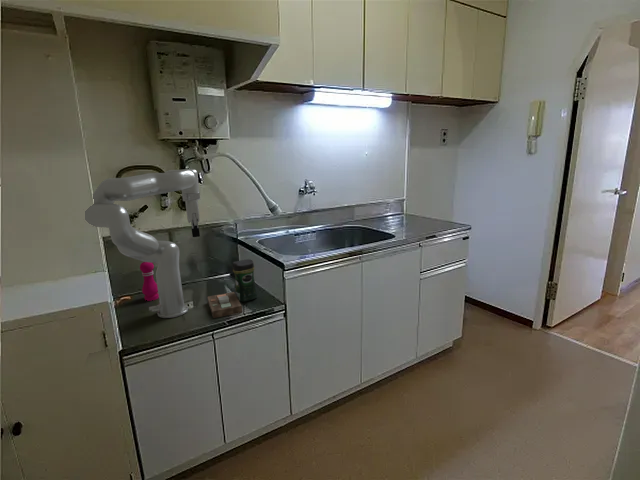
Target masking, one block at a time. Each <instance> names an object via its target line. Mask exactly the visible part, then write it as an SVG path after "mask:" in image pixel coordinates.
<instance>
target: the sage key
mask: <svg viewBox="0 0 640 480" xmlns="http://www.w3.org/2000/svg"><path fill="white" fill-rule="evenodd" d="M220 305H221V309H222V308H227V307H231V304H230V303H225V304H220Z"/></svg>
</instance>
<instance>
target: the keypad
mask: <svg viewBox="0 0 640 480" xmlns="http://www.w3.org/2000/svg"><path fill="white" fill-rule="evenodd" d="M223 294H226V296H228V298H229V302H227V303H230V304H231V307H227V308H222V309H221V305H220V304H219V299H217V296H218V295H223ZM207 303H208V307H209V310H210V312H211V315H212V319H216V318H221V317H226V316H232V315H236V314H241V313H243V306H242V304H241V301H239V300H238V298H237V296H236V293H235V291H231V292H226V293H221V294H214V295H209V296H207ZM222 304H225V303H222Z"/></svg>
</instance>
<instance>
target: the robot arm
mask: <svg viewBox="0 0 640 480" xmlns="http://www.w3.org/2000/svg"><path fill="white" fill-rule="evenodd" d="M179 191H181V197H182V202H185V209H186V210H185V212H186V220H187V222H188V224H190V223H191V228H190V229H191V234H192V235H191V236H192V238H198V237H201V233H200V228H199V223H200V208H199V201H200V200H201V194H200V185H199V177H198V171H197V170H196V169H194V168H187V169H185V168H184V169H169V170H167V171H164V172H149V173H148V172H147V173H144V174H143V173H142V174H139V175H133V176H126V177H110V178H109V177H108V178H106V179H103V180H102V182H101V183H100V184H99V185H98V186H97V187H96V189H95V191H94V192H93V193H92V195H93V199H94V204H93V205H92V206H90V207H89V208H88V209H87V210H86V211H85V220H86V221H87V222H88V223H89V224H91V225H93V226H92V227H94V226H95V228H107V229H109V230H108V231H109V235H110V238H111V243H113V244H114V245H115V246H116V248H117V249H118V251H119V253H120V254H122V255H124V256H125V257H129V258H132V259H133V260H138V261H141V262H150V263H153V264H157V269H156V271H155V280H156V281H155V282H156V284H157V287H158V292H157V293H158V294H159V298H158V299H159V303H158V304H157V305H152V306H148V311H149V312H152V313H156V312H157V313H156V314H157V316H158V317H159V318H162V319H171V318H177V317H181V316H182V315H185V314H186V313H188V311H189V306H188V305H187V304H185V301H184V293H183V286H182V278H181V272H180V252H181V251H180V247H179V246H178V245H177V244H176V243H175V242H173V241H168V240H158V239H157V238H156V237H154V235H151V234H149V233H146V232H144V231H142V230H139V229H137V228H135V227H133V226H132V225H131V221H130V215H129V212H128V211H127V209H126V208H125V207H124V206H122V205H120V204H116V203H115V202H130V201H135V200H139V199H143V198H146V197H151V196H154V195H156V196H157V195H161V194H162V195H163V194H168V193H173V192H179Z"/></svg>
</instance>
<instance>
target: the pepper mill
mask: <svg viewBox="0 0 640 480" xmlns="http://www.w3.org/2000/svg"><path fill="white" fill-rule="evenodd" d="M154 268H155V265H154V263H150V262H144V261H142V262H141V263H140V265H139V269H140V271H141V274H142V277H143V283H142V288H141V292H142V294H143V295H144V296H143V297H144V298H143V299H144V300H145V301H146V300H147V301H146V302H153V301H156V300H158V299H159V294H158V287H157V281H155V279H154V274H155V273H154ZM152 300H153V301H152Z"/></svg>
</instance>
